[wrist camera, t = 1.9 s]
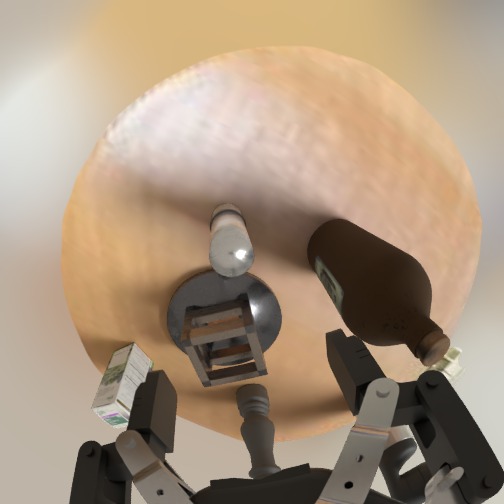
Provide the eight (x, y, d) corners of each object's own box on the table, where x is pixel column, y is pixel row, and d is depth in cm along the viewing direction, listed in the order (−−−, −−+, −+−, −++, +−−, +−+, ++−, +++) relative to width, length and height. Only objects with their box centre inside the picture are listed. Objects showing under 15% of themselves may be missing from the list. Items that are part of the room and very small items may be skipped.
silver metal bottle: (246, 207, 38) (261, 240, 25) (237, 236, 39) (247, 282, 26) (216, 198, 37) (214, 228, 24) (207, 228, 38) (202, 272, 25)
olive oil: (351, 201, 39) (478, 273, 16) (373, 257, 43) (476, 349, 20) (290, 238, 40) (373, 355, 17) (320, 291, 44) (395, 411, 21)
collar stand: (268, 255, 41) (282, 286, 32) (287, 346, 48) (300, 384, 39) (151, 283, 40) (137, 319, 31) (190, 367, 47) (187, 407, 38)
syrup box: (132, 371, 46) (116, 431, 33) (112, 350, 44) (89, 410, 31) (154, 362, 46) (141, 425, 33) (133, 340, 44) (113, 403, 30)
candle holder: (231, 398, 51) (242, 508, 28) (245, 380, 50) (263, 498, 27) (257, 404, 53) (276, 508, 30) (272, 387, 51) (299, 497, 28)
